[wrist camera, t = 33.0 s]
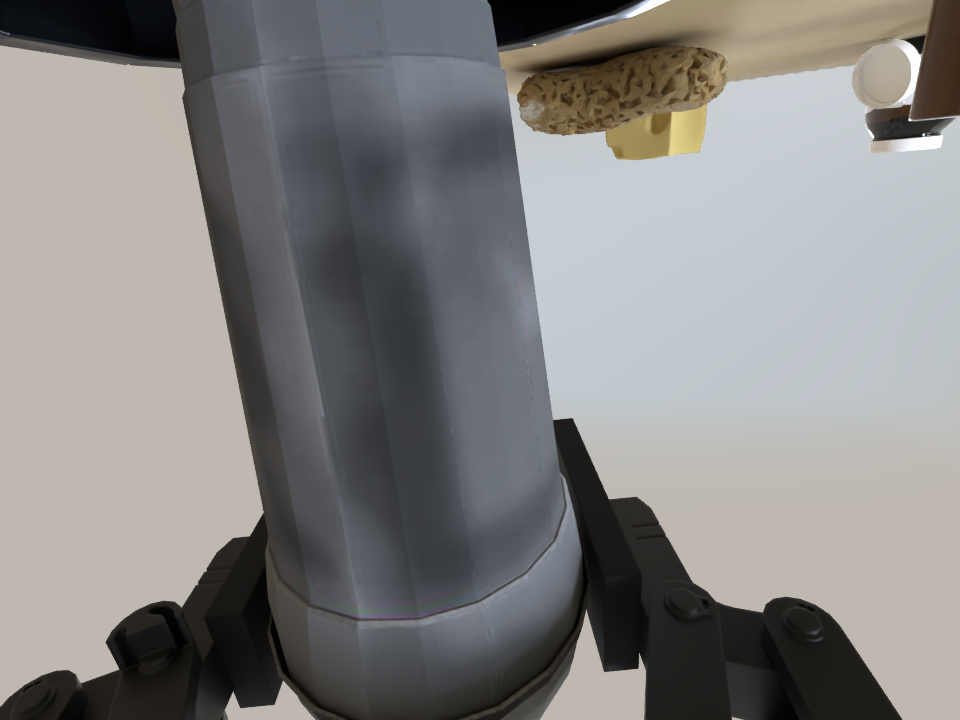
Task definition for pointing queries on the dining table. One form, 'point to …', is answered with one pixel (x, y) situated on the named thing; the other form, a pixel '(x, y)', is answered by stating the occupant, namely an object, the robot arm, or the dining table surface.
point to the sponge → (622, 90)
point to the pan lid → (939, 65)
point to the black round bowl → (152, 21)
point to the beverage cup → (386, 353)
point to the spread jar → (894, 97)
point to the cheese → (659, 135)
